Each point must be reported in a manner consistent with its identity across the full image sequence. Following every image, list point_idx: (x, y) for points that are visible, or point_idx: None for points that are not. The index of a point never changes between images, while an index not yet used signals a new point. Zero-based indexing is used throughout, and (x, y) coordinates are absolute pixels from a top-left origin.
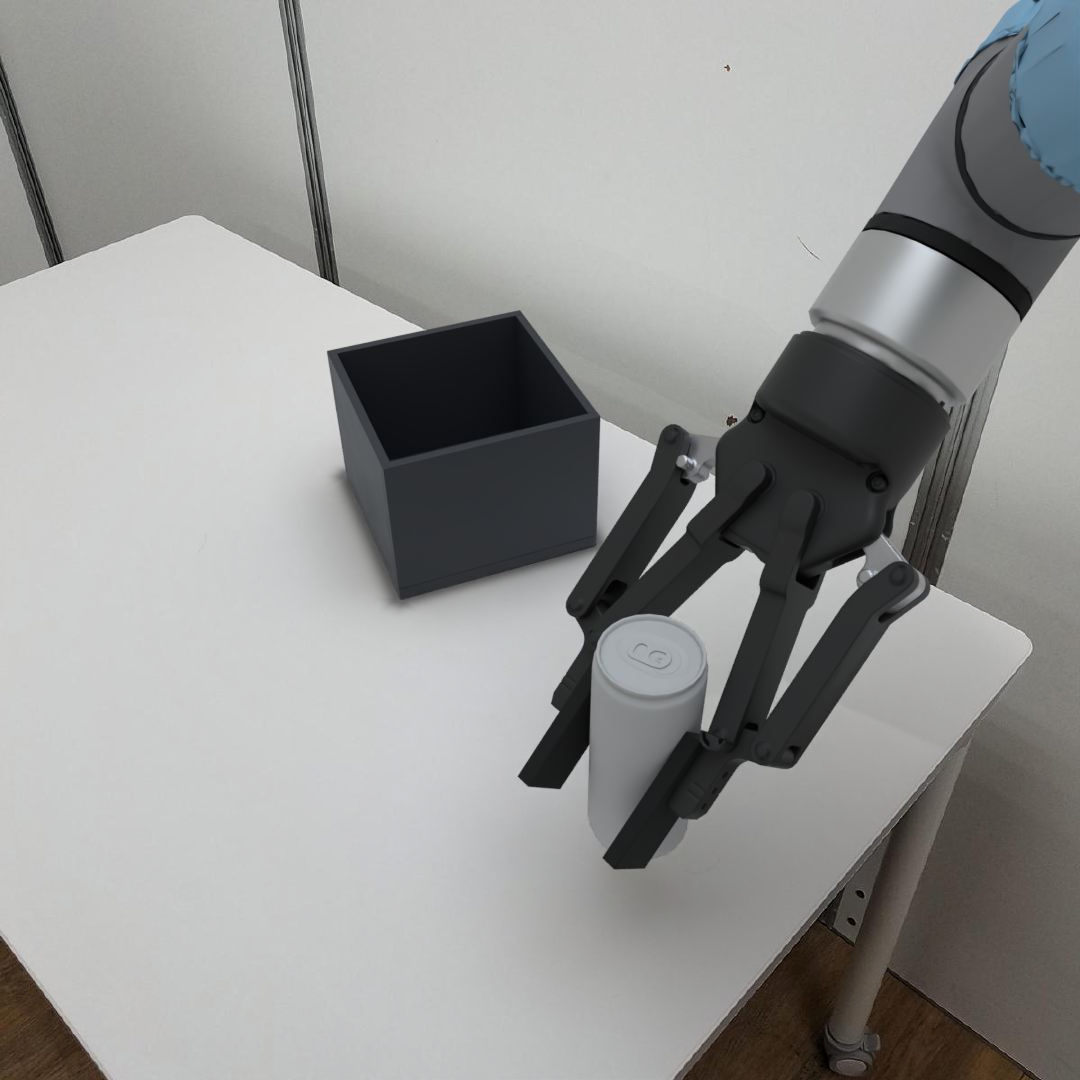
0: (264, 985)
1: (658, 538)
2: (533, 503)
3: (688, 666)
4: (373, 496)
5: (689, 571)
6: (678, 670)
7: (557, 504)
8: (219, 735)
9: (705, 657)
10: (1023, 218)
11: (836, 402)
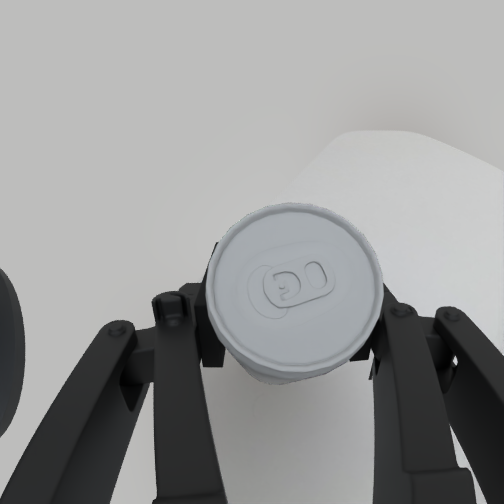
0: (345, 179)
1: (476, 453)
2: None
3: (238, 309)
4: None
5: (393, 444)
6: (244, 293)
7: None
8: (478, 228)
9: (230, 341)
10: None
11: None
